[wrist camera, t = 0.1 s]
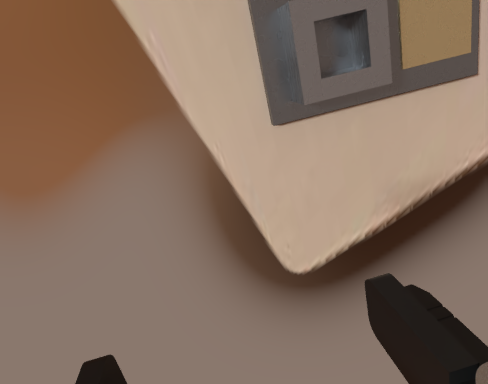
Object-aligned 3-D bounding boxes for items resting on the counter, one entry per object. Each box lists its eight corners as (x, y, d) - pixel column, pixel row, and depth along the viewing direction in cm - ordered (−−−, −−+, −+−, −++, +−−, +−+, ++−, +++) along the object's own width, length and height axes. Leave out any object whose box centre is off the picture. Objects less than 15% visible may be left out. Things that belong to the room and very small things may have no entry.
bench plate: (246, -7, 34) (255, -19, 29) (472, -58, 35) (516, -77, 30) (271, 124, 38) (283, 131, 34) (470, 73, 40) (508, 74, 35)
